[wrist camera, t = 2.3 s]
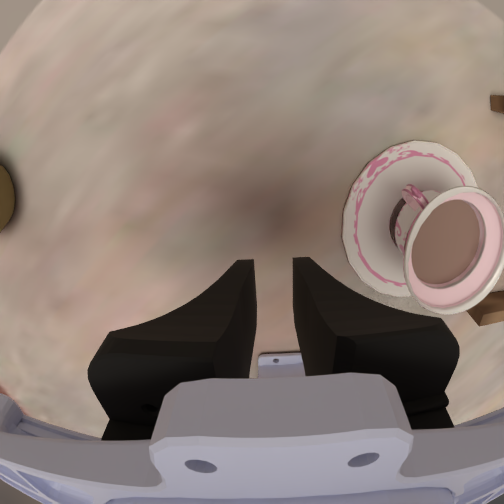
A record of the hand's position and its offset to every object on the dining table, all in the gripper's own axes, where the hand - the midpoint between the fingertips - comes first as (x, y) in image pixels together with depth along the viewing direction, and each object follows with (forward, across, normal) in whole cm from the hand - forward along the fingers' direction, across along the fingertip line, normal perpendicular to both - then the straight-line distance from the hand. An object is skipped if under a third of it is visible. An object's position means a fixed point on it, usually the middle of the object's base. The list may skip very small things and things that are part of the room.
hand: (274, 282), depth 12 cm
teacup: (+10, -11, +1) cm, 15 cm away
